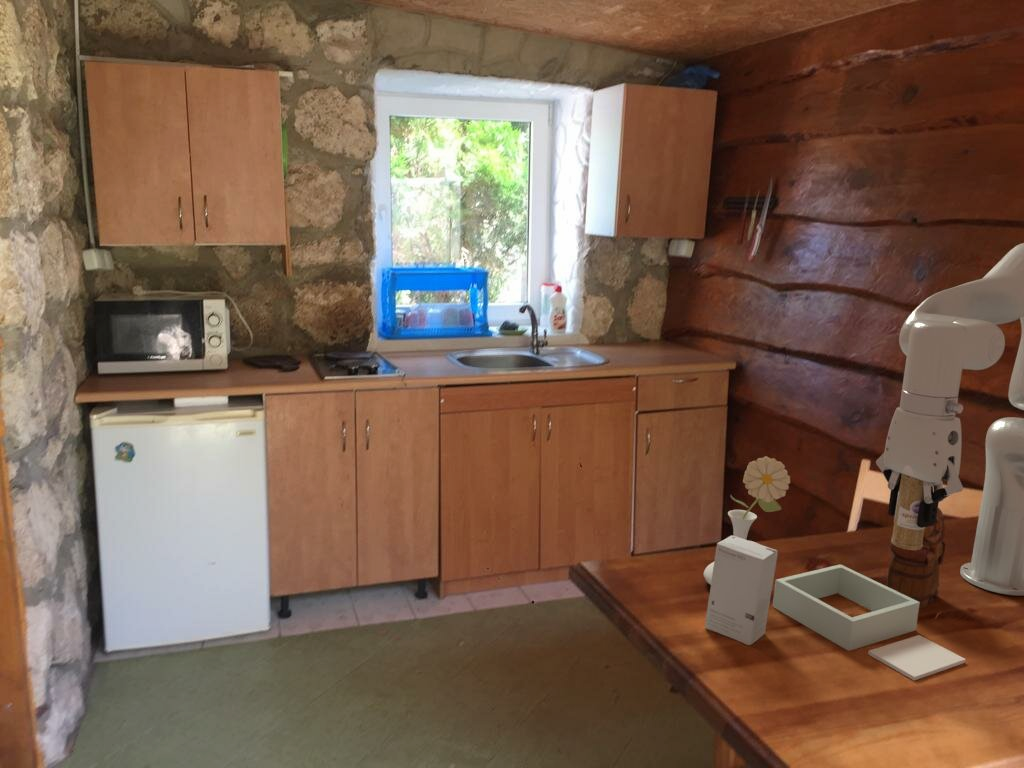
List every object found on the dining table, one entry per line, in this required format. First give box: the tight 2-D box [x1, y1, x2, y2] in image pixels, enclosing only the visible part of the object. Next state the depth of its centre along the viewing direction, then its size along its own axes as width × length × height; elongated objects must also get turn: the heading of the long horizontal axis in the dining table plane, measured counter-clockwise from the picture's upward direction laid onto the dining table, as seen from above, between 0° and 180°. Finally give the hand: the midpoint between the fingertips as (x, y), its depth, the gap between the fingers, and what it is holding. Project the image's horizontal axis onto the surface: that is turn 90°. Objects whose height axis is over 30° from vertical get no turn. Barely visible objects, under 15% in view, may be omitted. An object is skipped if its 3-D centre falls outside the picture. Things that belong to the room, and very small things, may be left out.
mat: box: [867, 634, 966, 681], centre depth 128 cm, size 12×8×1 cm, turn 118°
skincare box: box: [704, 534, 779, 646], centre depth 133 cm, size 8×6×15 cm
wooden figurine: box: [886, 507, 947, 609], centre depth 147 cm, size 12×6×18 cm, turn 130°
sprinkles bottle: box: [890, 465, 925, 550], centre depth 127 cm, size 5×5×13 cm
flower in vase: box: [703, 456, 791, 586], centre depth 147 cm, size 13×11×25 cm
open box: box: [771, 563, 920, 652], centre depth 140 cm, size 16×16×5 cm
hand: (910, 518), depth 127 cm, fingers closed on sprinkles bottle, 4 cm apart
